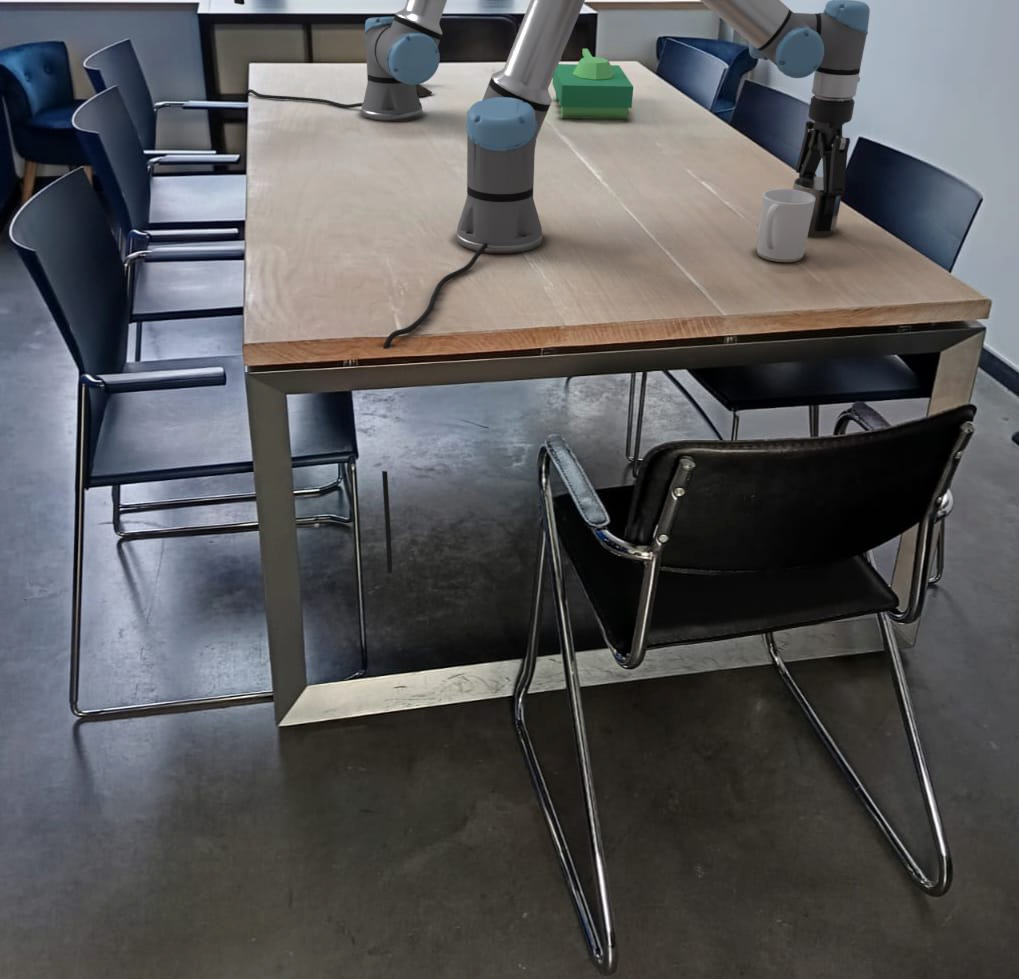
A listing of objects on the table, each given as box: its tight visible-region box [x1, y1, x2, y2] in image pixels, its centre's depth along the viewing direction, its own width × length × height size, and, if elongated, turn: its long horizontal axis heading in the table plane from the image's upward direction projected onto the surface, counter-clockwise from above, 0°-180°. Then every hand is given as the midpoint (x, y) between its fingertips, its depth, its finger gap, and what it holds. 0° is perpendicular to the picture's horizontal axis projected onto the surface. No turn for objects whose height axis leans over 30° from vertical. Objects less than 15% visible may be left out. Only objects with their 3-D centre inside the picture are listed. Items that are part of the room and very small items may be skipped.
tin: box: [792, 176, 842, 238], centre depth 203 cm, size 9×9×9 cm
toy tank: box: [552, 48, 634, 120], centre depth 286 cm, size 18×12×35 cm
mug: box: [756, 188, 816, 263], centre depth 188 cm, size 11×9×10 cm
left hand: (265, 1), depth 240 cm, fingers open, 13 cm apart
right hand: (812, 222), depth 204 cm, fingers closed on tin, 9 cm apart
